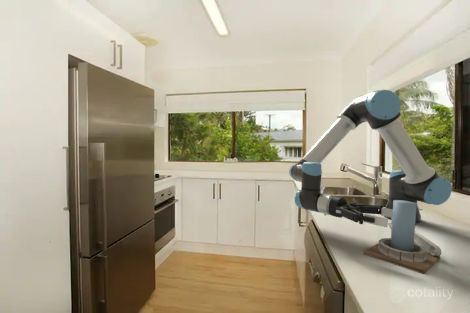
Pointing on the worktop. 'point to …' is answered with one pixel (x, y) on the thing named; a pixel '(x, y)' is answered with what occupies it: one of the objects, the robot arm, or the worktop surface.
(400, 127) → the robot arm
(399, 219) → the post
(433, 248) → the wrench
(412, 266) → the collar board
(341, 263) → the worktop surface
